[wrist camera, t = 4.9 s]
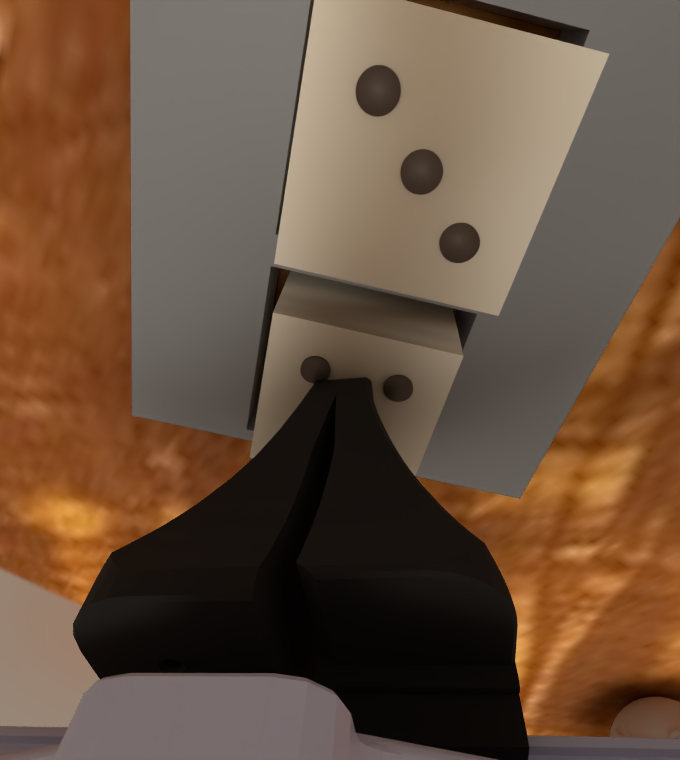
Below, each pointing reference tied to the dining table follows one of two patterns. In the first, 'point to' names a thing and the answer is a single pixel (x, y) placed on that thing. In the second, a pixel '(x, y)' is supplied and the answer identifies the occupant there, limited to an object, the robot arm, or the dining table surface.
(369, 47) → the beige small block
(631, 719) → the frog figurine
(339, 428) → the robot arm
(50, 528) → the dining table surface
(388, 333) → the beige square block
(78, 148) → the dining table surface
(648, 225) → the grey slotted tray
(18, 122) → the dining table surface
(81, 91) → the dining table surface
